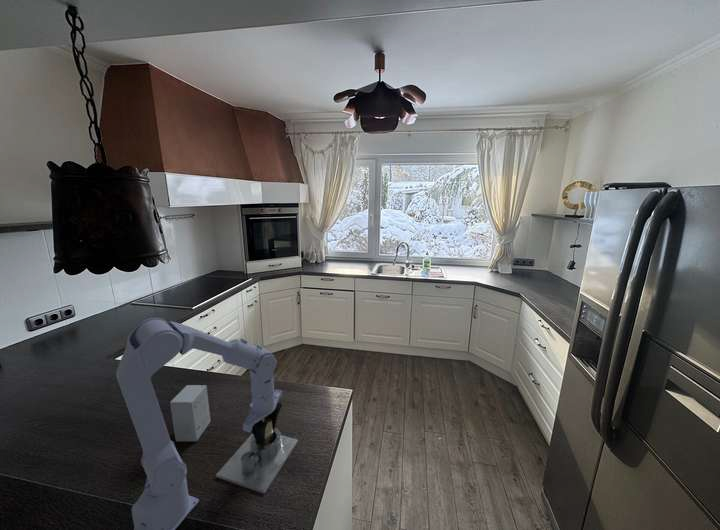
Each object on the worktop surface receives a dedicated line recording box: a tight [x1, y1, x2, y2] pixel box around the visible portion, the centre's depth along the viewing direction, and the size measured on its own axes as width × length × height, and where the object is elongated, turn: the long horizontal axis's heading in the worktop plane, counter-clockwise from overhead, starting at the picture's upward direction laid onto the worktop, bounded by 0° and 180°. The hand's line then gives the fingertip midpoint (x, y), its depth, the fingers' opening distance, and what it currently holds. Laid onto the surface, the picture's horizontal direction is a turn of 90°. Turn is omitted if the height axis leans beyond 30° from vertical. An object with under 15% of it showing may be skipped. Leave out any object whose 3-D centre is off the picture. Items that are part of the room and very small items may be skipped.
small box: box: [169, 384, 212, 442], centre depth 85 cm, size 8×6×13 cm
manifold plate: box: [215, 427, 299, 494], centre depth 77 cm, size 16×14×5 cm
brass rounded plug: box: [257, 416, 274, 446], centre depth 79 cm, size 4×4×6 cm
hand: (265, 435), depth 79 cm, fingers closed on brass rounded plug, 4 cm apart
